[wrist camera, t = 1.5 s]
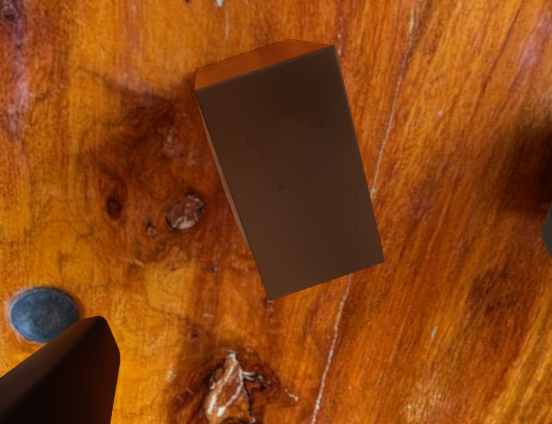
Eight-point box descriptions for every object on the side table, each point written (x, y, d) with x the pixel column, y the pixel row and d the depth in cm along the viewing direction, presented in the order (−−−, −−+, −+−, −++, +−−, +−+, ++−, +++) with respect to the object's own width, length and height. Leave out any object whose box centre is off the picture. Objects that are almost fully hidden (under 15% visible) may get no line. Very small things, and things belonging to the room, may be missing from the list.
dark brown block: (245, 221, 22) (264, 304, 15) (192, 69, 19) (187, 92, 12) (331, 192, 22) (386, 262, 15) (290, 37, 19) (335, 44, 13)
